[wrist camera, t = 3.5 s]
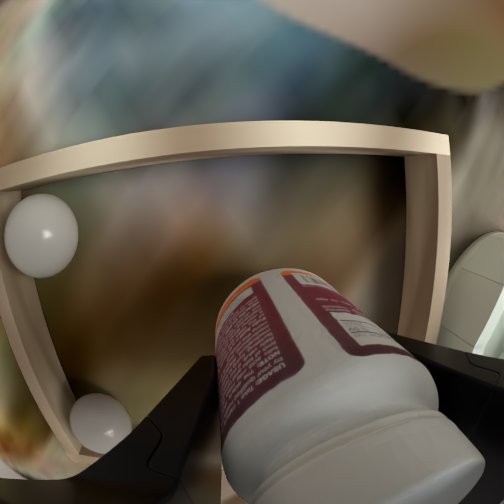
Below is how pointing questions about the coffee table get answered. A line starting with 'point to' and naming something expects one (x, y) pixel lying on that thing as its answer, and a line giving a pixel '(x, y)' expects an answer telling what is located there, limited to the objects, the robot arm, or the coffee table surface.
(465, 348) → the bowl
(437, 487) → the pill bottle
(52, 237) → the pebble
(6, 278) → the tray
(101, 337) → the coffee table surface
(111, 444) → the pebble
